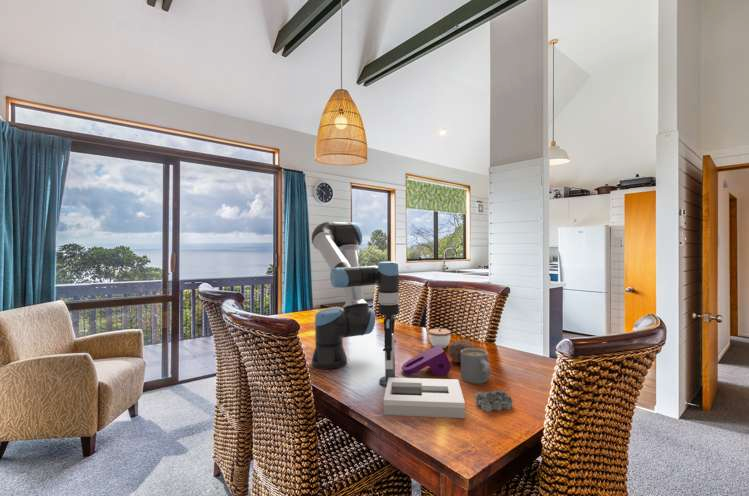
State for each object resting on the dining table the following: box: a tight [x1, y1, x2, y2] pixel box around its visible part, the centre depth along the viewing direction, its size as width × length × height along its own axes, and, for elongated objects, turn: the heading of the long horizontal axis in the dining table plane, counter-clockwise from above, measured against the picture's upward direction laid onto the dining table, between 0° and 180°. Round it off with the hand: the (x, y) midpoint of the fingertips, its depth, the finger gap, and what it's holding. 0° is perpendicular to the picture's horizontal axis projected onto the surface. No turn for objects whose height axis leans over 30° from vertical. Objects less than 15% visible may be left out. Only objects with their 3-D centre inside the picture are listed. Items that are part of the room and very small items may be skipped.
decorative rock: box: [447, 338, 476, 364], centre depth 153 cm, size 13×11×10 cm
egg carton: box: [473, 389, 515, 413], centre depth 112 cm, size 11×8×4 cm
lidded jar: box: [428, 327, 452, 349], centre depth 176 cm, size 11×11×9 cm
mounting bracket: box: [401, 345, 451, 377], centre depth 142 cm, size 10×8×18 cm
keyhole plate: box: [383, 377, 466, 419], centre depth 115 cm, size 24×18×4 cm
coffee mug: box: [460, 347, 491, 384], centre depth 133 cm, size 13×10×10 cm
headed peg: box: [379, 333, 400, 387], centre depth 132 cm, size 8×8×18 cm
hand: (390, 364), depth 132 cm, fingers open, 8 cm apart
